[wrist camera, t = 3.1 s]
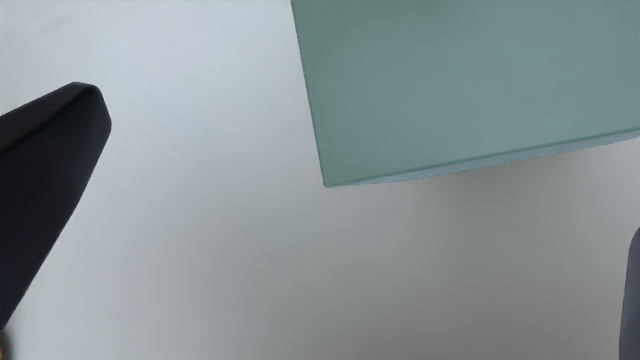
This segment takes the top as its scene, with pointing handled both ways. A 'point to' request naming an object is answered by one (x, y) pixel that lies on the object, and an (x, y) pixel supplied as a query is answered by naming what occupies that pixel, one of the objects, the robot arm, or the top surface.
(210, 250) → the top surface
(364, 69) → the tote bag
